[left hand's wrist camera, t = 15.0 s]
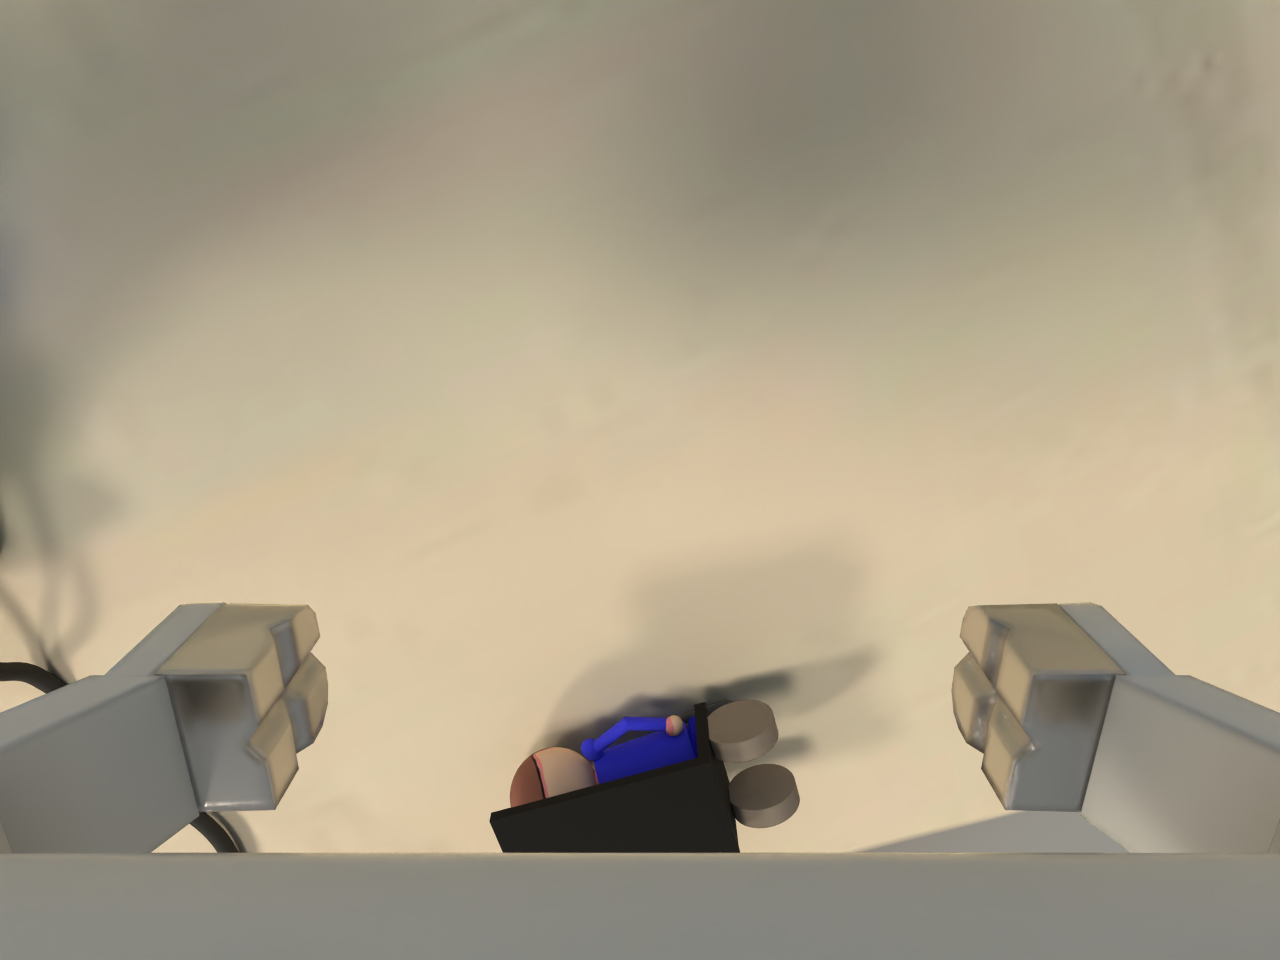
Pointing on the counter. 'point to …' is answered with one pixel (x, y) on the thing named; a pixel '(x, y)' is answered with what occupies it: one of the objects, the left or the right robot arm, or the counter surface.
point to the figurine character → (651, 787)
